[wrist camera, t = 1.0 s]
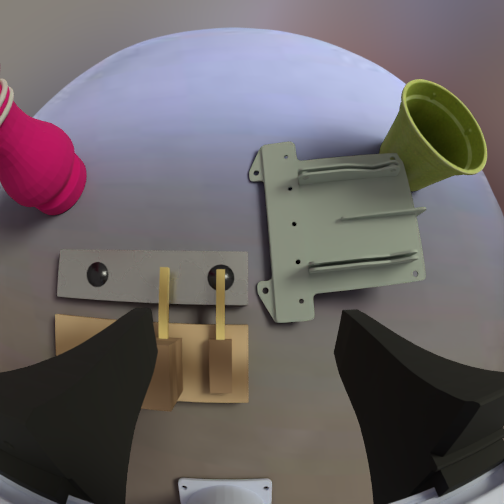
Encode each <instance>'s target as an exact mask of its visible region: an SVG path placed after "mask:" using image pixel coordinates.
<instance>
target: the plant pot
mask: <svg viewBox="0 0 504 504" xmlns="http://www.w3.org/2000/svg"><path fill="white" fill-rule="evenodd" d="M401 101H402V102H401V104H400V109H399V110H400V111H399V113H398V115H397V117H396V119H395V121H394V123H393V124H392V126H391V128H390V130H389V132H388V134H387V136H386V137H385V139H384V141H383V143H382V145H381V147H380V152H379V154H385V153H397V154H398V156H399V157H400V159H401V160H402V161H403V164H404V167H405V171H406V175H407V179H408V183H409V187H410V191H417V190H419V189H422V188H424V187H427V186H429V185H431V184H434V183H436V182H439V181H441V180H444V179H446V178H449V177H451V176H454V175H462V174H464V175H474V174H476V173H478V172H480V171H481V170H482V169H483V168H484V166H485V164H486V159H487V148H486V143H485V139H484V136H483V134H482V131H481V129H480V127H479V125H478V123H477V121H476V120H475V118H474V117H473V115H472V114H471V112H470V111H469V110H468V109H467V107H466V106H465V105H464V104H463V103H462V102H461V101H460V100H459V99H458V98H457V97H456V96H455V95H454V94H452V93H451V92H450V91H448V90H447V89H445V88H444V87H442V86H440V85H438V84H436V83H433V82H431V81H427V80H421V79H418V80H412V81H410V82H409V83H407V84H406V85H405V87H404V89H403V91H402V96H401ZM390 160H395V159H394V158H393V157H390Z"/></svg>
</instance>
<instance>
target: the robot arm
mask: <svg viewBox="0 0 504 504" xmlns="http://www.w3.org/2000/svg"><path fill="white" fill-rule="evenodd" d="M157 354H158V349H157V343H156V337H155V331H154V325H153V319H152V312H151V309H150V308H135V309H133V310H131V311H130V312H128V313H127V314H125V315H124V316H122V317H121V318H119V319H118V320H117V321H115V322H114V323H112V324H111V325H109V326H108V327H106V328H105V329H103V330H102V331H101V332H99V333H97V334H96V335H94V336H93V337H91V338H89V339H88V340H86V341H85V342H83V343H81V344H79V345H78V346H76V347H74V348H72V349H70V350H68V351H66V352H64V353H62V354H60V355H58V356H55V357H53V358H50V359H48V360H45V361H42V362H40V363H37V364H34V365H31V366H28V367H24V368H20V369H16V370H12V371H7V372H1V373H0V504H125V496H126V482H127V472H128V464H129V457H130V450H131V445H132V439H133V434H134V429H135V425H136V422H137V418H138V415H139V412H140V409H141V407H142V404H143V401H144V398H145V395H146V393H147V390H148V387H149V384H150V382H151V379H152V376H153V373H154V369H155V364H156V359H157ZM334 355H335V360H336V364H337V367H338V371H339V374H340V377H341V379H342V382H343V384H344V387H345V389H346V392H347V394H348V396H349V399H350V401H351V404H352V406H353V408H354V411H355V413H356V416H357V419H358V422H359V424H360V428H361V432H362V436H363V440H364V444H365V448H366V453H367V458H368V463H369V469H370V476H371V482H372V491H373V502H374V504H504V441H503V439H502V438H504V429H503V428H502V427H503V426H504V372H498V371H490V370H484V369H480V368H475V367H471V366H467V365H464V364H460V363H457V362H454V361H451V360H448V359H445V358H443V357H440V356H438V355H436V354H433V353H431V352H429V351H427V350H425V349H423V348H421V347H419V346H417V345H415V344H413V343H411V342H410V341H408V340H406V339H404V338H402V337H401V336H399V335H398V334H396V333H394V332H393V331H391V330H390V329H388V328H386V327H385V326H383V325H382V324H380V323H379V322H377V321H376V320H374V319H373V318H371V317H369V316H368V315H366V314H365V313H363V312H361V311H359V310H343V311H342V316H341V321H340V326H339V331H338V335H337V340H336V345H335V349H334ZM182 486H186V487H187V488H184V487H182ZM265 486H268V488H264V487H265ZM178 487H179V494H180V501H181V504H271V498H272V482H271V480H270V479H268V478H263V479H231V480H227V479H195V478H180V479H179V481H178Z"/></svg>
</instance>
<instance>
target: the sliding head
mask: <svg viewBox="0 0 504 504" xmlns="http://www.w3.org/2000/svg"><path fill="white" fill-rule="evenodd" d="M169 275H170V268H168V267H160V278H159V337H156V343H157V349H158V354H157V359H156V364H155V369H154V373H153V376H152V379H151V382H150V384H149V387H148V390H147V393H146V395H145V398H144V401H143V404H142V407H141V409H150V410H160V411H172V409H173V407H174V406H175V404H176V402H177V400H178V399H179V397H180V395H181V393H182V392H183V366H182V338H171V337H169Z"/></svg>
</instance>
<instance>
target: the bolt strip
mask: <svg viewBox="0 0 504 504" xmlns="http://www.w3.org/2000/svg"><path fill="white" fill-rule="evenodd" d="M160 267H168V268H170V275H169V304H191V305H216V270H217V269H225V305H248V252H225V251H149V250H73V249H61V250H60V259H59V271H58V286H57V296H58V297H67V298H79V299H91V300H105V301H121V302H139V303H159V278H160Z"/></svg>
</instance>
